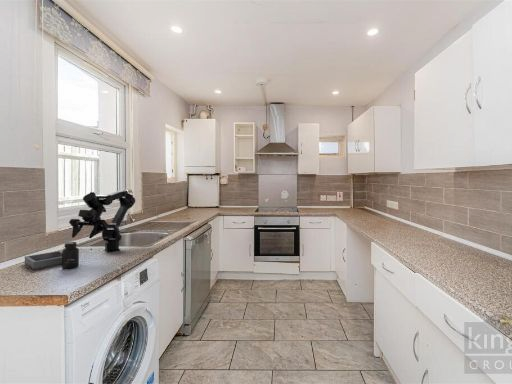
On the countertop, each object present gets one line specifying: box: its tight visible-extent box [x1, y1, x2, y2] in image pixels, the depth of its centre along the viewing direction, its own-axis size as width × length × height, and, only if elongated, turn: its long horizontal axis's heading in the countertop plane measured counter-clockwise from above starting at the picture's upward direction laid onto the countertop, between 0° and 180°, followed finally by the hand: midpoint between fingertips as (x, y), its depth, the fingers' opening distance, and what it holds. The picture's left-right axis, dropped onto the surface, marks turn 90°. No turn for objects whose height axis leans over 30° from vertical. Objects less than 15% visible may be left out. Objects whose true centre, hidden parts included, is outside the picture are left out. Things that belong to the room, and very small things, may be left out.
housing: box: [24, 250, 62, 271], centre depth 139 cm, size 15×15×4 cm
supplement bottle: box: [61, 241, 80, 270], centre depth 134 cm, size 7×7×12 cm
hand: (81, 237), depth 141 cm, fingers open, 9 cm apart
